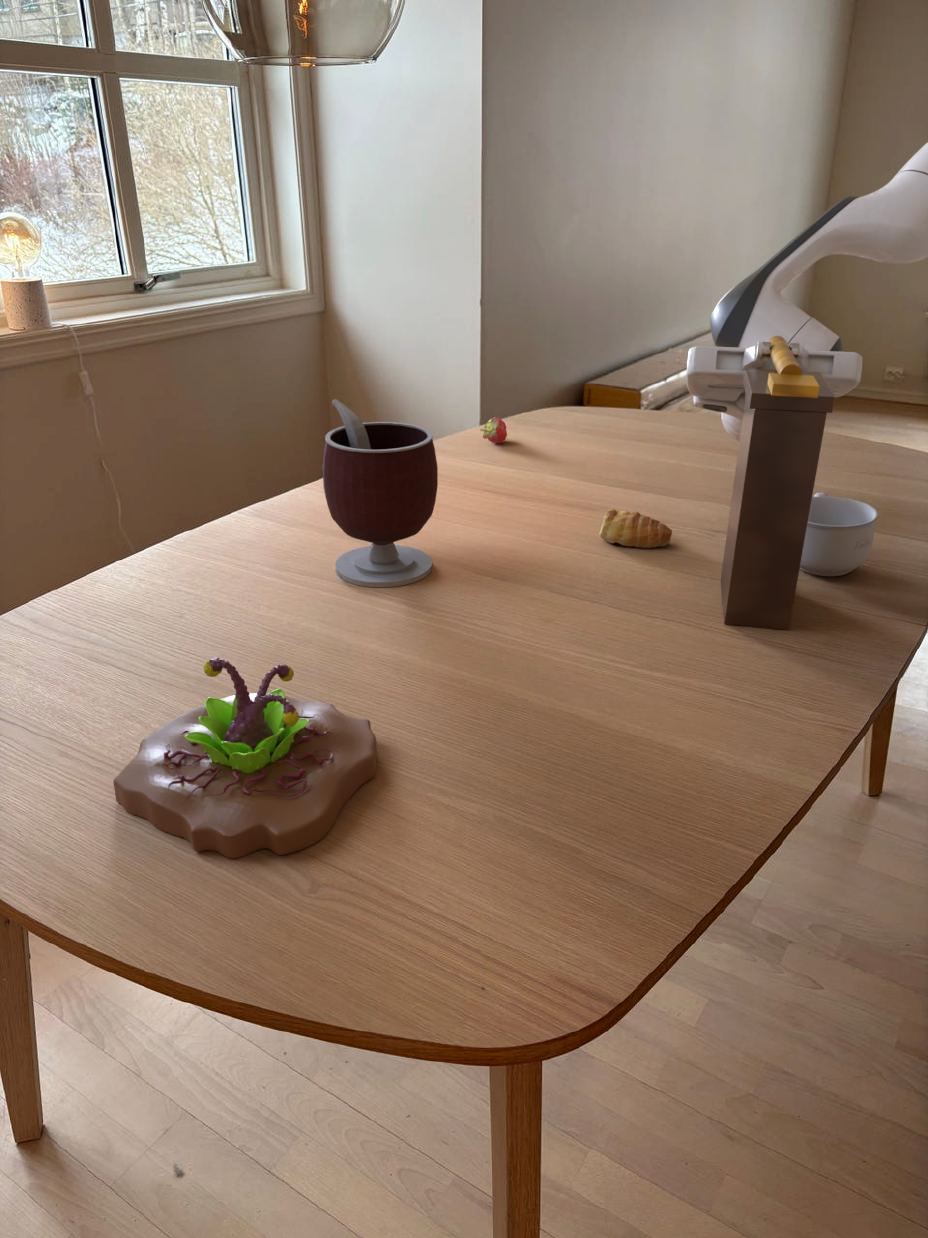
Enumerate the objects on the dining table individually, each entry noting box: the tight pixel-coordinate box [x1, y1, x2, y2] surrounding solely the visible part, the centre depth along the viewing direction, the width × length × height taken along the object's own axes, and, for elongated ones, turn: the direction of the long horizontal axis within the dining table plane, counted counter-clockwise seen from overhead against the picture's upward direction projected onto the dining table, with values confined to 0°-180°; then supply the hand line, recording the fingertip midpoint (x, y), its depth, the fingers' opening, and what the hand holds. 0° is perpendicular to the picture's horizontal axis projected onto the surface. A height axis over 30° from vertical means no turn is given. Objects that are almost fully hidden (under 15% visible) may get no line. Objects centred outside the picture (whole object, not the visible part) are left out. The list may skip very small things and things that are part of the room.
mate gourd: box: [321, 398, 439, 588], centre depth 117 cm, size 16×14×20 cm
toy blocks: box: [768, 336, 820, 398], centre depth 103 cm, size 4×22×2 cm, turn 168°
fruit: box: [479, 416, 508, 444], centre depth 171 cm, size 4×6×5 cm
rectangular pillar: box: [720, 369, 836, 631], centre depth 106 cm, size 8×12×26 cm, turn 168°
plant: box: [113, 657, 378, 859], centre depth 78 cm, size 20×20×11 cm
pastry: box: [598, 508, 673, 549], centre depth 129 cm, size 9×7×4 cm
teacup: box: [799, 492, 879, 577], centre depth 121 cm, size 14×11×8 cm
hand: (780, 348), depth 108 cm, fingers closed on toy blocks, 2 cm apart
